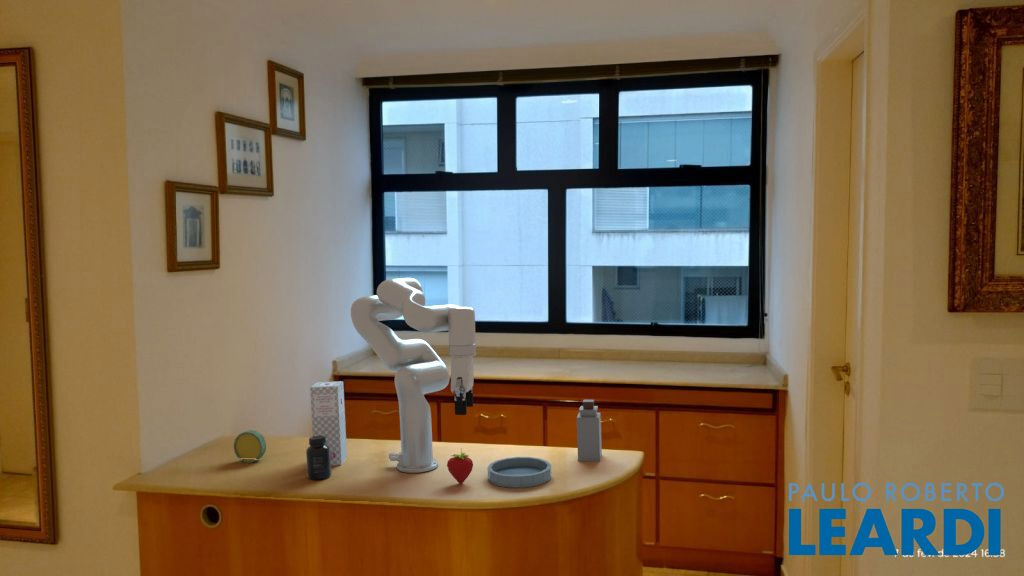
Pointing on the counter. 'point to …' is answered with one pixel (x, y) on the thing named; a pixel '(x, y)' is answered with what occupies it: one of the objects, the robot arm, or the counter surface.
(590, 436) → the perfume bottle
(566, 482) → the counter surface
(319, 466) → the supplement bottle
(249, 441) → the decorative artifact
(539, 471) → the slate dish
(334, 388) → the box
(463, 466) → the strawberry
